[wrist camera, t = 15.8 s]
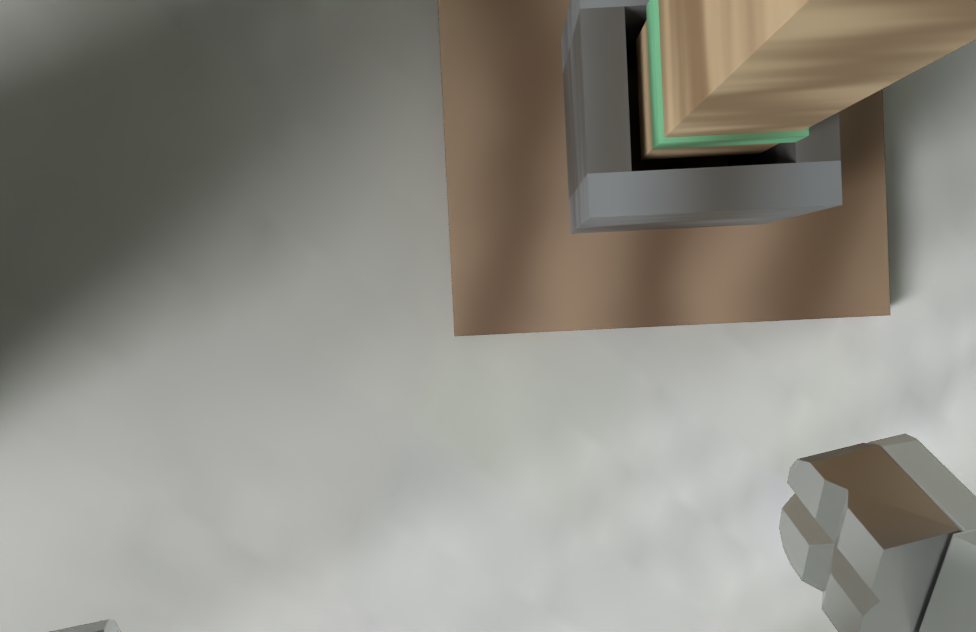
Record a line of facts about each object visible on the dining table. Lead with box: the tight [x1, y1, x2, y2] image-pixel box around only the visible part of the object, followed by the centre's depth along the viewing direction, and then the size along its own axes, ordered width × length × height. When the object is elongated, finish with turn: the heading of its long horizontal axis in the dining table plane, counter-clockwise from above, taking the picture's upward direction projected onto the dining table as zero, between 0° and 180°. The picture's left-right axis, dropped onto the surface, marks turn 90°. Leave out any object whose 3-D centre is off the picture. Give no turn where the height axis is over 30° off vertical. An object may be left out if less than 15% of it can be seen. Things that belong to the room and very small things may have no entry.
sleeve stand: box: [438, 0, 890, 336], centre depth 33 cm, size 18×16×10 cm
